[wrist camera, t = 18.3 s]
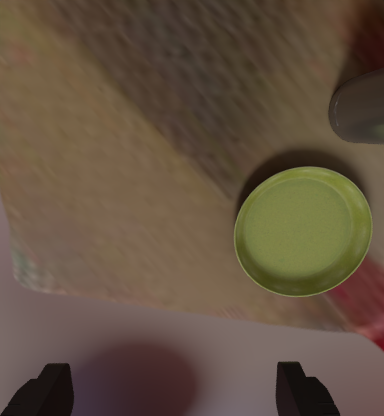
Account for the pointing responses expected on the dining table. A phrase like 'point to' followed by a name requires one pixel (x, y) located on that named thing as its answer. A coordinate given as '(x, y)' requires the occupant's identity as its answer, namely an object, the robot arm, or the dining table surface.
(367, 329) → the dining table surface
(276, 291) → the saucer
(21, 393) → the robot arm
